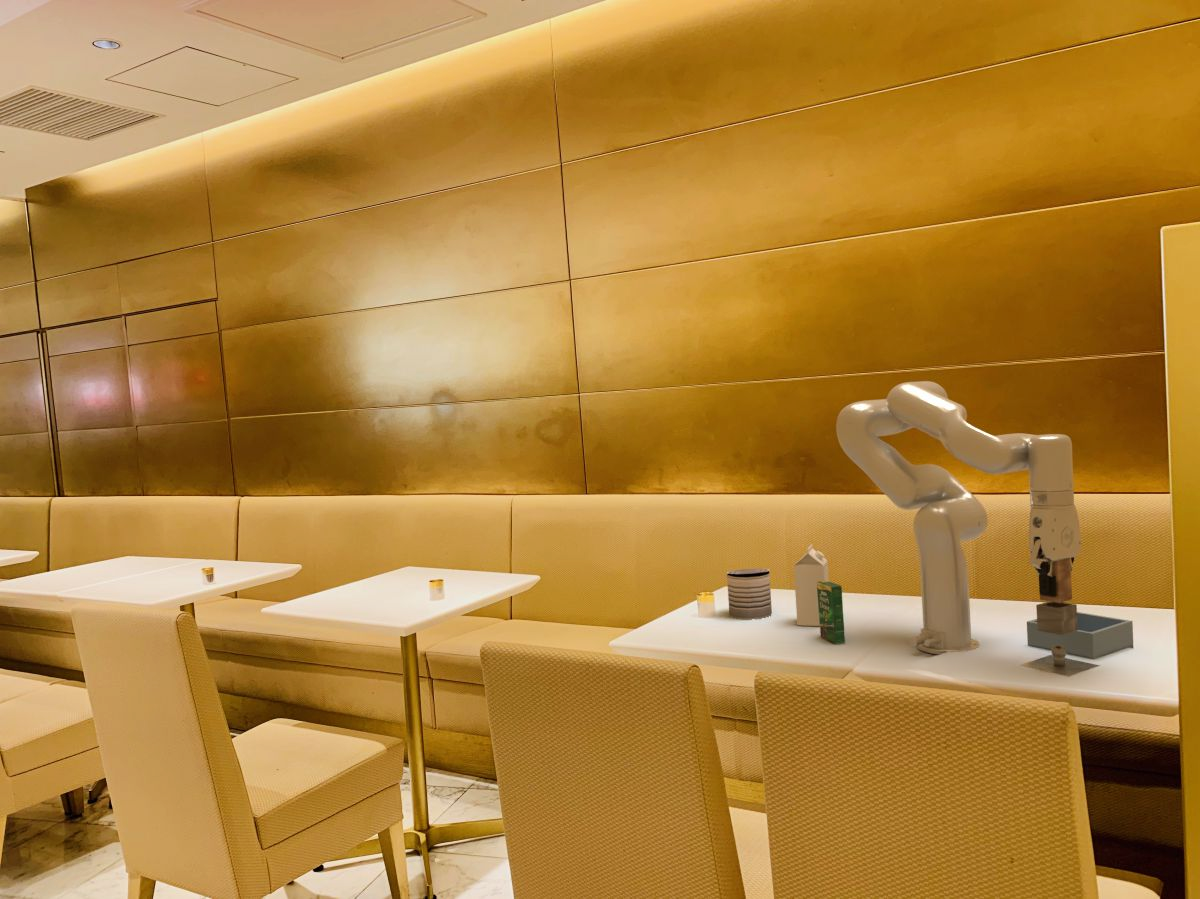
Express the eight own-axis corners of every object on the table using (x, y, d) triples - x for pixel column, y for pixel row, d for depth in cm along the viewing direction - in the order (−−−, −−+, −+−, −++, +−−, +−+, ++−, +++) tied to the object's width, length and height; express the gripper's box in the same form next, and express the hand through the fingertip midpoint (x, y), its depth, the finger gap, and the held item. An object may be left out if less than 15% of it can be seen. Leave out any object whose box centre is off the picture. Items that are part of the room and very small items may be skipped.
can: (726, 620, 231) (723, 574, 231) (730, 609, 242) (728, 565, 242) (771, 619, 229) (769, 573, 228) (773, 609, 240) (771, 564, 239)
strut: (1062, 635, 170) (1058, 561, 170) (1037, 630, 175) (1034, 558, 174) (1077, 630, 173) (1074, 557, 172) (1053, 625, 177) (1049, 555, 176)
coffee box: (818, 636, 210) (815, 580, 209) (830, 634, 211) (827, 579, 210) (833, 644, 202) (830, 586, 202) (845, 643, 203) (842, 585, 202)
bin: (1093, 664, 176) (1092, 633, 176) (1027, 650, 188) (1026, 621, 188) (1133, 650, 183) (1132, 621, 183) (1067, 637, 195) (1066, 610, 195)
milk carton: (797, 626, 221) (792, 549, 220) (802, 619, 227) (797, 544, 226) (826, 627, 218) (822, 549, 217) (830, 619, 224) (826, 544, 224)
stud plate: (1069, 681, 167) (1067, 655, 167) (1019, 670, 176) (1018, 645, 175) (1100, 670, 172) (1099, 645, 172) (1050, 659, 181) (1049, 635, 181)
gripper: (1043, 505, 165) (1047, 604, 166) (1096, 495, 173) (1099, 589, 174) (1006, 502, 171) (1010, 598, 172) (1059, 493, 180) (1062, 584, 181)
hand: (1055, 592), depth 173 cm, fingers closed on strut, 4 cm apart
